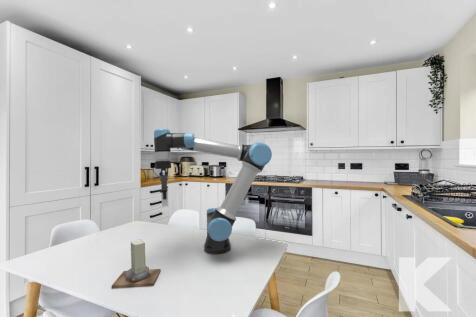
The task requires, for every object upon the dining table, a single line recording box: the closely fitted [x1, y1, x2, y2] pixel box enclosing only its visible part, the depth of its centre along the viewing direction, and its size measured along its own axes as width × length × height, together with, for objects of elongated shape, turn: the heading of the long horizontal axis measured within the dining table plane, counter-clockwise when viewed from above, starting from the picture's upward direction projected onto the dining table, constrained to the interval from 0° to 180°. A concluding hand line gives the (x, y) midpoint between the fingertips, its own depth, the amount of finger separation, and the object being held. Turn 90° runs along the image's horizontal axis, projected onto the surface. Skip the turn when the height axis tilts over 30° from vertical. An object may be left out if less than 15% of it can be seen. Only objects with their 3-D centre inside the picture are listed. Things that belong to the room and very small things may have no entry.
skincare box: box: [130, 239, 147, 275], centre depth 96 cm, size 6×4×12 cm
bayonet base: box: [111, 266, 162, 290], centre depth 96 cm, size 16×12×4 cm
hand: (164, 203), depth 111 cm, fingers open, 13 cm apart
